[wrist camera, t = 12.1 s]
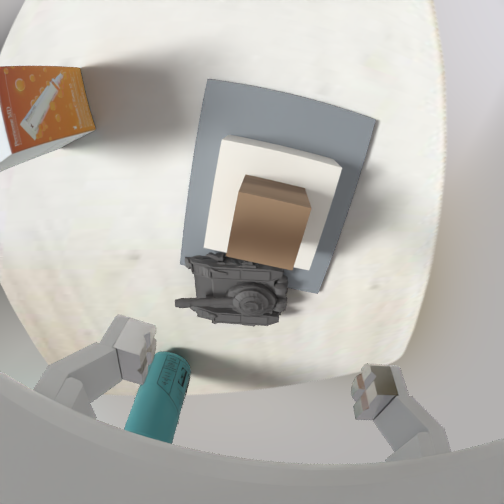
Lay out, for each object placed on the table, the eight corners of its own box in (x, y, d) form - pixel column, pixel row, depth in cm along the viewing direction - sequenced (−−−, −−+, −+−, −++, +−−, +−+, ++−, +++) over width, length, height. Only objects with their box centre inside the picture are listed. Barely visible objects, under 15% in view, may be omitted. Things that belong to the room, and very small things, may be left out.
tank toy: (189, 309, 38) (179, 337, 33) (181, 243, 33) (167, 266, 29) (284, 315, 37) (284, 344, 32) (290, 247, 33) (292, 272, 28)
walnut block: (245, 174, 24) (238, 191, 20) (304, 188, 24) (311, 208, 20) (234, 228, 26) (225, 256, 22) (289, 241, 27) (292, 270, 22)
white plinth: (228, 134, 26) (221, 139, 23) (333, 159, 27) (342, 167, 23) (211, 230, 31) (203, 247, 28) (305, 250, 31) (309, 270, 28)
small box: (97, 129, 27) (12, 156, 16) (58, 149, 28) (-23, 184, 17) (81, 65, 23) (-7, 65, 12) (42, 90, 25) (-41, 104, 13)
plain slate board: (208, 79, 24) (207, 78, 24) (374, 119, 25) (375, 119, 24) (181, 262, 34) (180, 264, 33) (317, 291, 34) (317, 293, 34)
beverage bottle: (144, 348, 42) (97, 462, 24) (177, 337, 40) (133, 466, 22) (171, 375, 44) (136, 485, 26) (204, 366, 42) (175, 489, 25)
